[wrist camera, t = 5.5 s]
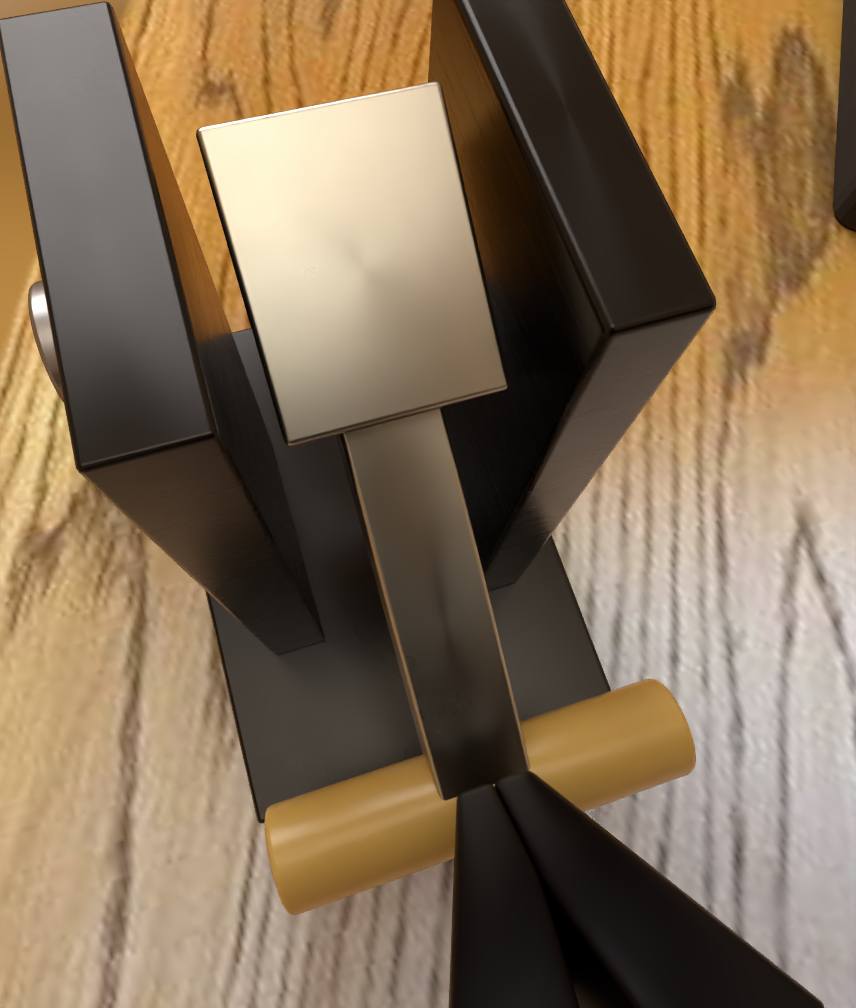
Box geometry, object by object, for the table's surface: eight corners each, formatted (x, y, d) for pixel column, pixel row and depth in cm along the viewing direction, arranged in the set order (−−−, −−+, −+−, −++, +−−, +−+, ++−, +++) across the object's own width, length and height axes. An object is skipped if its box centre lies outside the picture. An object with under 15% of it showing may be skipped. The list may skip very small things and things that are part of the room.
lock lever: (636, 726, 11) (736, 819, 8) (290, 845, 10) (292, 985, 7) (510, 139, 9) (587, 48, 7) (95, 227, 8) (20, 159, 6)
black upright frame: (600, 707, 15) (1022, 605, 5) (268, 820, 14) (-30, 970, 4) (449, 308, 18) (528, -261, 8) (165, 377, 17) (-155, -174, 7)
